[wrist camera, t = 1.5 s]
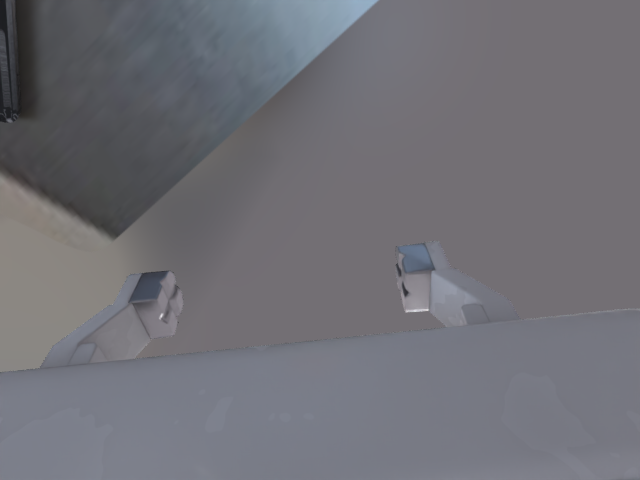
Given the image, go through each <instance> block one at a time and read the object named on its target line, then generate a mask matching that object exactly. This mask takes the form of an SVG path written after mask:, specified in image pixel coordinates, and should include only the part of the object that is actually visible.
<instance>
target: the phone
mask: <svg viewBox="0 0 640 480" xmlns="http://www.w3.org/2000/svg"><path fill="white" fill-rule="evenodd" d="M20 113H21V98H20V80H19V62H18V44H17V26H16V8H15V0H0V121H1V122H7V123H10V122H14V121H16V120H17V118H18V116H19V114H20Z"/></svg>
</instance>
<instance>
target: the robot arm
mask: <svg viewBox="0 0 640 480" xmlns="http://www.w3.org/2000/svg"><path fill="white" fill-rule="evenodd" d="M396 258H397V262H398V263H397V264H396V277H397V283H398V288H399V291H401V299H402V303H403V306H404V310H405V312H417V311H429V312H430V313H431V314H433V315H434V316H435V317H436V318H437V319H438V320H439V321H441V322H442V323H443V324H444V325H445V326H446V327H444V328H434V329H424V330H414V331H404V332H394V333H384V334H374V335H364V336H354V337H345V338H335V339H325V340H315V341H306V342H295V343H285V344H276V345H266V346H256V347H246V348H236V349H226V350H216V351H207V352H197V353H187V354H177V355H167V356H157V357H147V358H137V359H134V358H135V357H136V356H137V355H138V354H139V352H140V351H141V350H142V349H143V348H144V347H145V346H146V345H147V344H148V343H149V342H150V341H151V339H156V338H164V337H171V336H174V334H175V331H176V328H177V325H178V320H177V318H176V317H177V316H179V315H180V314H181V312H182V309H183V295H182V292H181V289H180V288H179V287H178V286H176V285H175V281H176V277H175V275H174V273H173V272H172V271H161V272H149V273H139V274H131V275H129V276H128V277H127V279H126V281H125V283H124V285H123V287H122V288H121V290H120V292H119V294H118V296H117V298H116V300H115V302H114V304H113V305H109V306H107V307H106V308H104V309H103V310H102V311H100V312H99V313H98V314H96V315H95V316H93V317H92V318H91V319H89V320H88V321H87V322H85V323H84V324H83V325H81V326H80V327H78V328H77V329H76V330H74V331H73V332H72V333H70V334H69V335H67V336H66V337H65V338H63V339H62V340H61V341H59V342H58V343H56V344H55V345H54V346H53V347H52V349H51V350H50V352H49V353H48V355H47V357H46V358H45V360H44V362H43V363H42V365H41V366H40V368H38V369H28V370H18V371H9V372H0V480H640V309H637V308H631V309H620V310H610V311H600V312H591V313H581V314H572V315H562V316H553V317H542V318H532V319H522V320H521V319H520V318H519V316H518V314H517V312H516V311H515V309H514V307H513V306H512V304H511V302H510V300H509V299H508V298H506V297H504V296H502V295H501V294H499V293H497V292H496V291H494V290H492V289H490V288H489V287H487V286H485V285H483V284H482V283H480V282H478V281H477V280H475V279H473V278H471V277H470V276H468V275H466V274H465V273H463V272H461V271H459V270H457V269H456V268H454V269H452V268H451V266H450V264H449V262H448V260H447V258H446V255H445V253H444V251H443V249H442V246H441V244H440V242H439V241H432V242H425V243H421V244H412V245H403V246H396Z"/></svg>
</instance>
